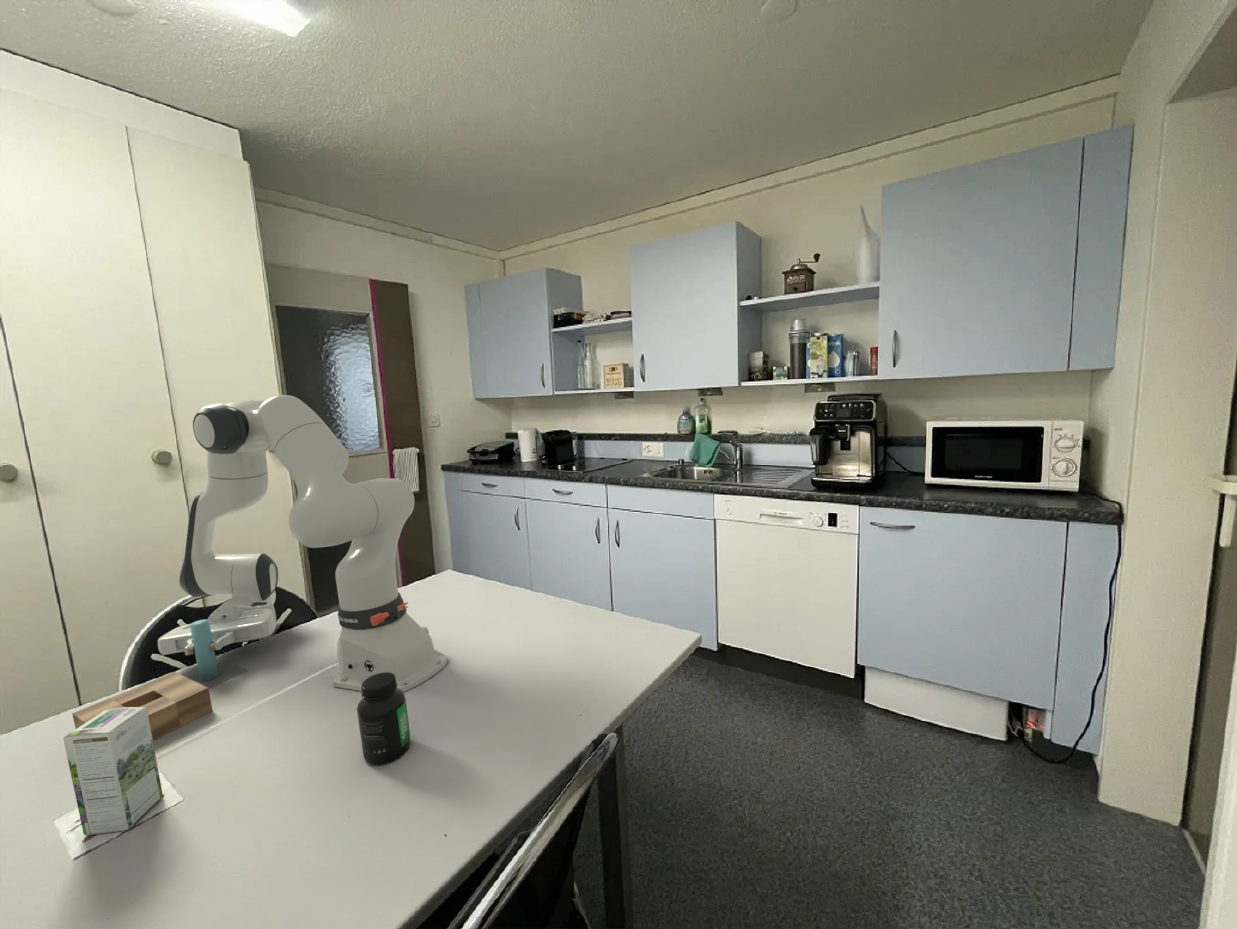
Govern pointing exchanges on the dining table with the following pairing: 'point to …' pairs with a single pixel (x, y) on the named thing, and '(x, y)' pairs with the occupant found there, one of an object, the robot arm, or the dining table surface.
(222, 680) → the mat
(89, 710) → the hole block
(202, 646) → the peg
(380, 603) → the robot arm
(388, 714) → the supplement bottle
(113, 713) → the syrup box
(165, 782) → the dining table surface
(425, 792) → the dining table surface
